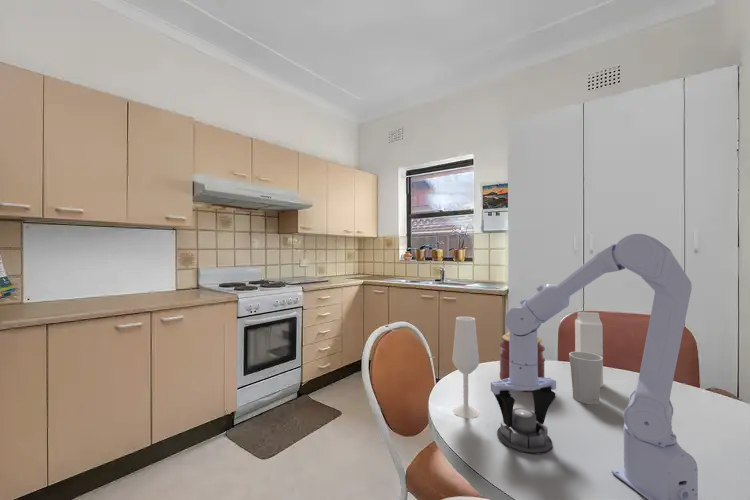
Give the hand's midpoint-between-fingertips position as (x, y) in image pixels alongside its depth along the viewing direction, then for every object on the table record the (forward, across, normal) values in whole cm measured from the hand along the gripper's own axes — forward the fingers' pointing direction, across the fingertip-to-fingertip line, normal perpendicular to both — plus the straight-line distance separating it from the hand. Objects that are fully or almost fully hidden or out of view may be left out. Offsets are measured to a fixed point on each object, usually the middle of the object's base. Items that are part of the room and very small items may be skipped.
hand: (523, 423), depth 74 cm
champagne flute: (+4, +7, -14) cm, 16 cm away
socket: (+3, 0, 0) cm, 3 cm away
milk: (+4, -39, -25) cm, 46 cm away
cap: (+3, 0, 0) cm, 3 cm away
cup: (+4, -29, -15) cm, 33 cm away
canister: (+4, -18, -28) cm, 33 cm away
